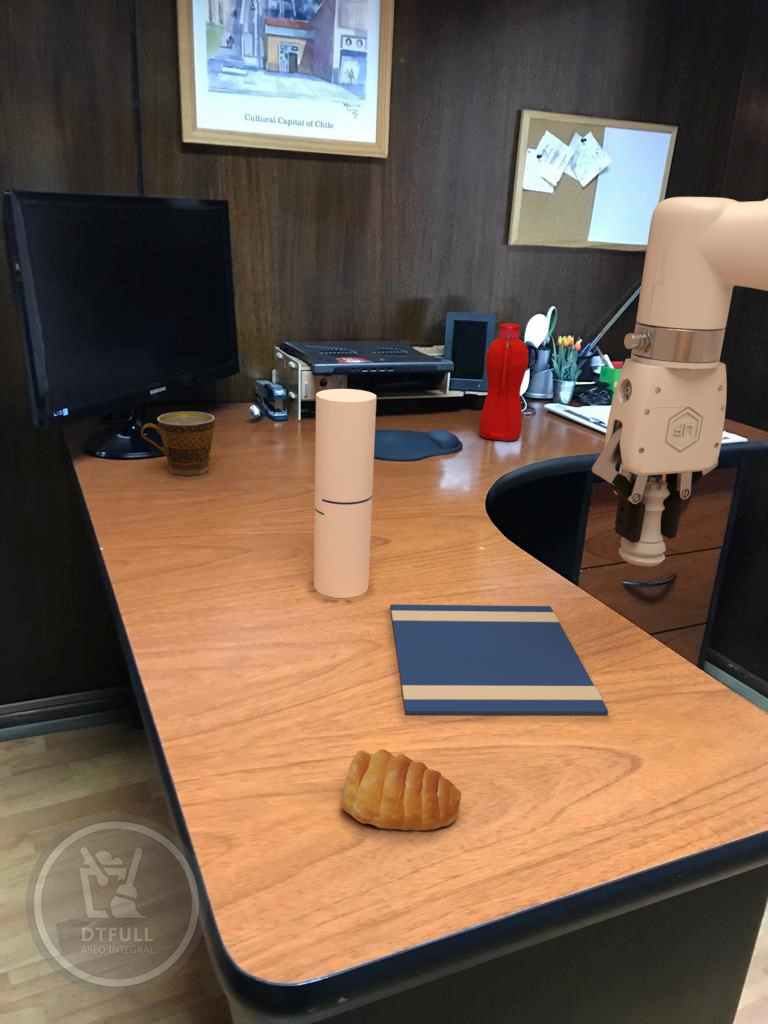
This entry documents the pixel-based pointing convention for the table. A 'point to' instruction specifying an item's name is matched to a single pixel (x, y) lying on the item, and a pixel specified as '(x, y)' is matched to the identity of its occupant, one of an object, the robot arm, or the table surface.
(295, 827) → the table surface
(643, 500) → the rook chess piece
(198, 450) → the ceramic cup
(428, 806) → the pastry
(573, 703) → the towel
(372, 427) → the cylindrical container
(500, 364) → the water bottle
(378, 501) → the table surface
